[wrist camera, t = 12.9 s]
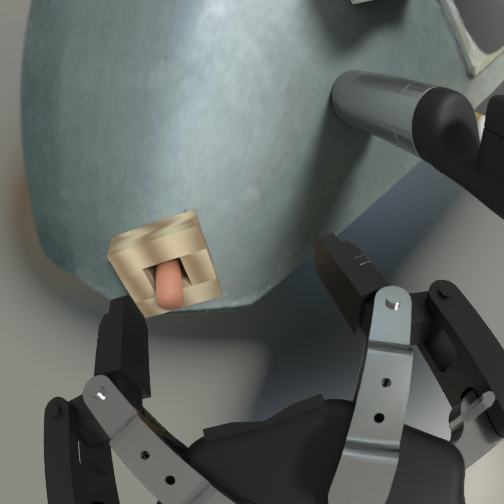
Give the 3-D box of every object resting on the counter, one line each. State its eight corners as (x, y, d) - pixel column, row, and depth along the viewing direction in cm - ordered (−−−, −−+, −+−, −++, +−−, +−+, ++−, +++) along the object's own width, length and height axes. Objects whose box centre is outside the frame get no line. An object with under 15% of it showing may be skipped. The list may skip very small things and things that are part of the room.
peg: (174, 244, 45) (178, 286, 37) (182, 263, 47) (188, 305, 40) (152, 251, 45) (151, 294, 37) (160, 269, 47) (162, 313, 39)
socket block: (195, 209, 42) (198, 226, 38) (218, 276, 51) (223, 295, 47) (111, 237, 41) (107, 256, 37) (146, 298, 50) (145, 318, 46)
